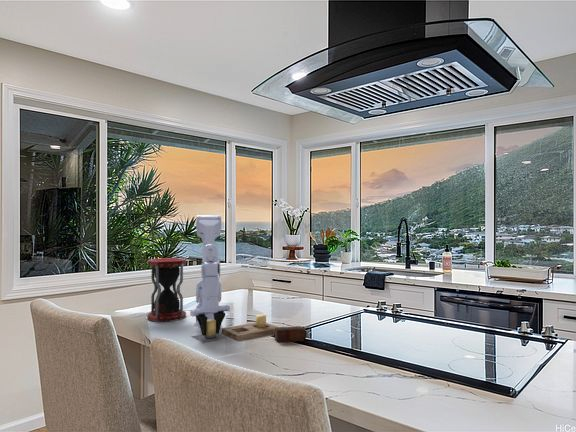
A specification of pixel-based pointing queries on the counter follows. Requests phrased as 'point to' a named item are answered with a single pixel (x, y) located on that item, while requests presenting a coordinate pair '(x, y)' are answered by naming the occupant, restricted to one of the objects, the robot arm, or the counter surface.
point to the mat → (203, 340)
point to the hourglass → (166, 289)
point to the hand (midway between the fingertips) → (210, 333)
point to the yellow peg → (210, 329)
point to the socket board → (248, 331)
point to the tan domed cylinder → (260, 321)
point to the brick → (290, 334)
